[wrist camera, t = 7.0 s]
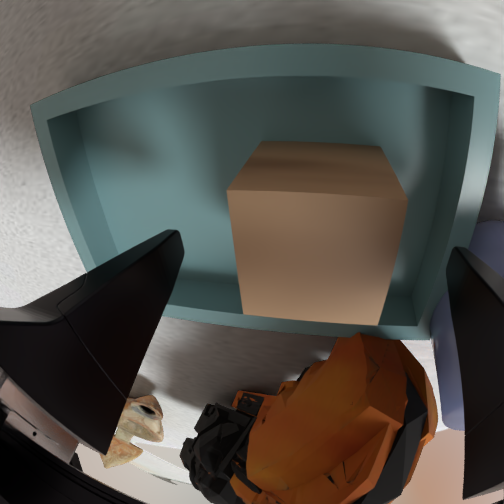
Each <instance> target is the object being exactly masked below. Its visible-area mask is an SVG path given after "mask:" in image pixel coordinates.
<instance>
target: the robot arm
mask: <svg viewBox="0 0 504 504" xmlns="http://www.w3.org/2000/svg"><path fill="white" fill-rule="evenodd" d="M184 254H185V250H184V246H183V242H182V238H181V234H180V232H179V231H178V230H176V229H167V230H165V231H163V232H161V233H159V234H157V235H155V236H153V237H151V238H149V239H147V240H145V241H144V242H142V243H140V244H138V245H136V246H134V247H132V248H130V249H129V250H127V251H125V252H123V253H121V254H119V255H117V256H116V257H114V258H112V259H110V260H108V261H106V262H105V263H103V264H101V265H99V266H97V267H96V268H94V269H92V270H90V271H89V272H87V273H85V274H83V275H81V276H80V277H78V278H76V279H74V280H73V281H71V282H69V283H67V284H65V285H64V286H62V287H60V288H58V289H56V290H54V291H52V292H50V293H48V294H46V295H44V296H42V297H41V298H39V299H37V300H35V301H33V302H31V303H29V304H27V305H25V306H22V307H18V308H4V307H0V504H148V503H145V502H143V501H141V500H138V499H136V498H134V497H131V496H129V495H127V494H125V493H122V492H120V491H118V490H116V489H114V488H112V487H110V486H108V485H106V484H104V483H102V482H100V481H98V480H96V479H94V478H92V477H90V476H89V475H87V474H85V473H83V470H82V467H81V464H80V461H79V458H78V454H77V453H75V450H76V448H77V446H78V444H79V443H81V444H83V445H85V446H86V447H89V448H90V449H92V450H94V451H96V452H98V453H100V454H102V455H104V456H106V454H107V452H108V450H109V447H110V444H111V441H112V439H113V436H114V433H115V430H116V428H117V425H118V422H119V420H120V417H121V414H122V412H123V409H124V407H125V404H126V401H127V398H128V396H129V393H130V391H131V388H132V386H133V383H134V381H135V378H136V376H137V373H138V371H139V368H140V366H141V363H142V361H143V359H144V356H145V354H146V351H147V349H148V347H149V344H150V342H151V340H152V337H153V335H154V333H155V330H156V328H157V326H158V323H159V321H160V319H161V317H162V314H163V312H164V310H165V308H166V305H167V303H168V301H169V299H170V296H171V294H172V291H173V289H174V286H175V283H176V280H177V276H178V273H179V270H180V267H181V264H182V262H183V259H184ZM446 279H447V287H448V295H449V303H450V312H451V318H452V323H453V328H454V334H455V340H456V346H457V352H458V359H459V366H460V374H461V383H462V394H463V407H464V427H465V435H466V436H465V460H464V461H465V462H464V463H465V464H464V484H463V500H464V499H469V498H473V497H477V496H481V495H484V494H488V493H491V492H495V491H498V490H501V489H504V278H503V277H501V276H500V275H499V274H498V273H497V272H496V271H494V270H493V269H492V268H491V267H490V266H488V265H487V264H486V263H485V262H483V261H482V260H481V259H480V258H478V257H477V256H476V255H475V254H473V253H472V252H471V251H469V250H468V249H467V248H465V247H459V246H455V247H453V249H452V251H451V254H450V257H449V260H448V263H447V266H446ZM493 504H504V499H503V500H501V501H498V502H495V503H493Z"/></svg>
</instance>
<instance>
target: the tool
mask: <svg viewBox="0 0 504 504" xmlns="http://www.w3.org/2000/svg"><path fill="white" fill-rule="evenodd" d="M232 407H234V408H236V409H237V410H236V411H234V410H231V409H229V408H227V407H225V406H222V405H220V404H218V403H215V405H211V404H207V405H206V406H205V408H204V410H203V412H202V414H201V416H200V418H199V420H198V422H197V424H196V426H195V427H194V429H195V431H196V432H197V433H198V435H197V437H195V438H194V439H191V438H186V440H185V442H184V443H183V448H182V450H181V453H180V458H181V460H182V462H183V465H184V467H185V468H187V469H188V470H189V477H190V481H191V483H192V485H193V486H194V487H195V489H197V490H199V491H201V492H202V494H203V495H204V497H205V498H206V499H207V500H208V501H210V502H211V503H214V504H390V503H391V502H392V501H393V500H394V499H396V498H397V497H398V496H400V495H401V493H402V491H403V489H404V488H405V487H406V486H407V484H408V483H409V482H410V480H411V478H412V475H413V473H414V470H415V468H416V465H417V462H418V460H419V457H420V455H421V452H422V449H423V446H425V445H426V444H427V443H428V442H429V441H430V440H432V439H433V438H434V435H435V431H436V427H437V423H438V412H437V405H436V400H435V396H434V393H433V388H432V386H431V383H430V381H429V379H428V376H427V374H426V372H425V370H424V368H423V367H422V365H421V364H420V363H419V362H418V361H417V359H416V358H415V357H414V356H413V355H412V353H411V352H410V351H409V350H408V349H407V348H406V346H405V345H404V344H403V343H402V342H401V341H400V340H394V339H382V338H380V337H375V336H370V335H364V334H361V333H360V332H358V333H356V334H355V335H353V336H352V337H351V338H348V337H338V338H337V341H336V343H335V345H334V347H333V349H332V351H331V353H330V356H329V358H328V359H327V360H324V361H319V362H315V363H314V364H313V365H312V366H311V367H307V368H305V369H304V371H303V372H302V373H301V375H300V376H299V378H298V379H297V381H294V380H293V381H286V382H282V383H281V386H280V388H279V391H278V393H277V396H272V395H265V394H258V393H251V392H245V391H239V390H238V392H237V394H236V397H235V399H234V402H233V404H232Z"/></svg>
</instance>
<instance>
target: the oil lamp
mask: <svg viewBox="0 0 504 504" xmlns="http://www.w3.org/2000/svg"><path fill="white" fill-rule="evenodd" d="M162 418H163V413H162V410H161V407H160V405H159V403H158V401H157V399H156V398H155V397H154V396H153V395H147V396H143V397H139V398H137V399H132V398H129V397H128V398H127V401H126V404H125V407H124V409H123V412H122V414H121V417H120V420H119V422H118V425H117V427H118V429H117V431H116V434H115V435H114V436H113V439H112V441H111V444H110V447H109V450H108V452H107V454H106V456H104V455H102V454H100V456H101V459H102V461H103V464H104V467H105V468H110V467H114V466H118V465H122V464H125V463H127V462H129V461H131V460H134V459H135V458H137V457H138V456H140V455H141V454H142V452H143V450H142V449H141V448H139V447H137V446H135V445H133V444H132V443H130V440H131V438H132V437H133V436H137V437H140V438H142V439H145V440H148V441H152V442H161V441H162V440H163V437H164V433H163V426H162V423H161V420H162Z"/></svg>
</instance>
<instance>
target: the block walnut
mask: <svg viewBox="0 0 504 504" xmlns="http://www.w3.org/2000/svg"><path fill="white" fill-rule="evenodd" d="M227 198H228V206H229V214H230V221H231V229H232V236H233V244H234V251H235V258H236V266H237V273H238V280H239V287H240V294H241V301H242V308H243V314H246V315H254V316H264V317H273V318H283V319H294V320H305V321H317V322H329V323H343V324H359V325H378V322H379V319H380V316H381V312H382V309H383V306H384V302H385V299H386V296H387V292H388V288H389V285H390V281H391V277H392V273H393V270H394V266H395V261H396V257H397V253H398V249H399V244H400V240H401V235H402V231H403V226H404V221H405V215H406V210H407V205H408V199H407V196H406V194H405V192H404V190H403V188H402V186H401V184H400V182H399V180H398V178H397V176H396V174H395V172H394V170H393V169H392V167H391V165H390V163H389V161H388V159H387V157H386V156H385V154H384V152H383V150H382V148H381V147H380V146H369V145H357V144H343V143H325V142H298V141H261V142H260V144H259V145H258V146H257V148H256V149H255V150H254V152H253V153H252V155H251V156H250V157H249V159H248V160H247V162H246V163H245V164H244V166H243V167H242V169H241V170H240V171H239V173H238V174H237V176H236V177H235V179H234V180H233V181H232V183H231V184H230V186H229V187H228V189H227Z"/></svg>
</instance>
